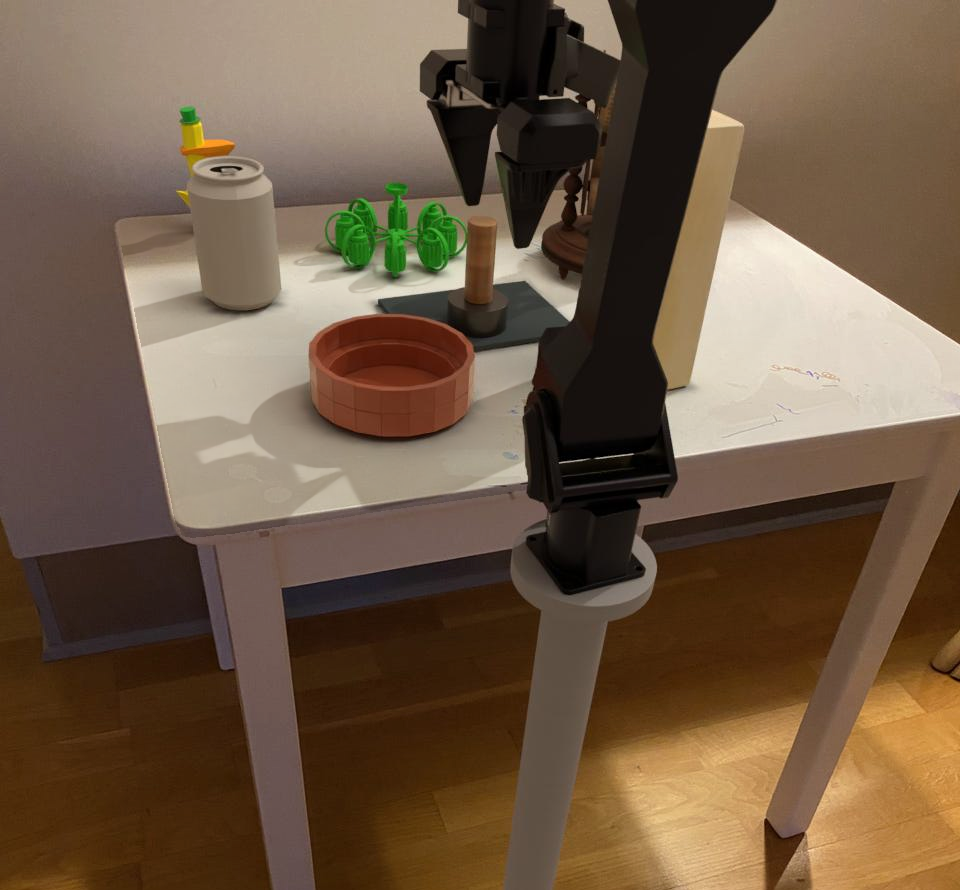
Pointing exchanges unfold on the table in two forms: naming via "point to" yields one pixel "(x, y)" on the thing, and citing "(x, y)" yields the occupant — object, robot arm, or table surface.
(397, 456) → the table surface
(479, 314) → the coffee tamper
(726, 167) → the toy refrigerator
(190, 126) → the toy figure
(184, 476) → the table surface
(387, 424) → the bowl
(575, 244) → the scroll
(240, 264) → the can
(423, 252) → the chandelier
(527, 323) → the mat
